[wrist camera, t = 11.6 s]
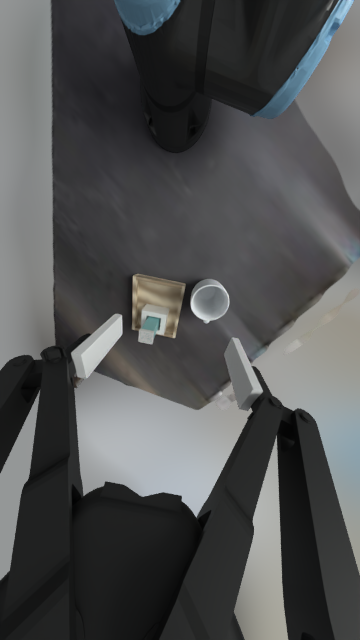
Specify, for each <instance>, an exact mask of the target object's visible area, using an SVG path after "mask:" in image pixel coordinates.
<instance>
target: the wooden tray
mask: <svg viewBox="0 0 360 640" xmlns="http://www.w3.org/2000/svg"><path fill="white" fill-rule="evenodd" d="M185 286H186V284H185V283H180V282H175V281H170V280H165V279H161V278H156V277H151V276H146V275H141V274H136V275H134V276H133V310H132V330H137V331H139V330H140V328H141V315H142V309H143V308H144V307H145V305H146V304H151V305H156V306H161V307H166V308H169V313H168V319H167V326H166V330H165V333H164V335H162V336H167V337H172V338H175V335H176V330H177V325H178V320H179V315H180V310H181V305H182V301H183V296H184V291H185ZM157 335H159V334H157Z"/></svg>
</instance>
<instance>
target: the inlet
mask: <svg viewBox="0 0 360 640" xmlns="http://www.w3.org/2000/svg"><path fill="white" fill-rule="evenodd" d="M168 313H169V308H166V307H161V306H156V305H151V304H146V305H145V307H144V308H143V309H142V315H141V328H142V327H143V325H144V323H145V322H146V320H147V319H148V317H149V316H152V317H157V318H160V325H159V327H158V330H157V332H156V334H159V335H164V333H165V330H166V326H167V319H168Z"/></svg>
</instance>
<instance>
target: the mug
mask: <svg viewBox="0 0 360 640" xmlns="http://www.w3.org/2000/svg"><path fill="white" fill-rule="evenodd" d="M190 301H191V309H192V311H193V313H194V314H195V315H196V316H197V317H198V318H200V319H203V322H204V323H209V321H210V320H215V319H218V318H220V317H221V316H222V315H224V313H225V312H226V311H227V309H228V306H229V296H228V294H227V292H226V290H225V289H224V287H223V286H222V285H221V284H220V283H219V282H217V281H216V280H213V279H205V280H202V281H200V282H198V283H197V284H196V285H195V287H194V288H193V290H192V293H191V300H190Z"/></svg>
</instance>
